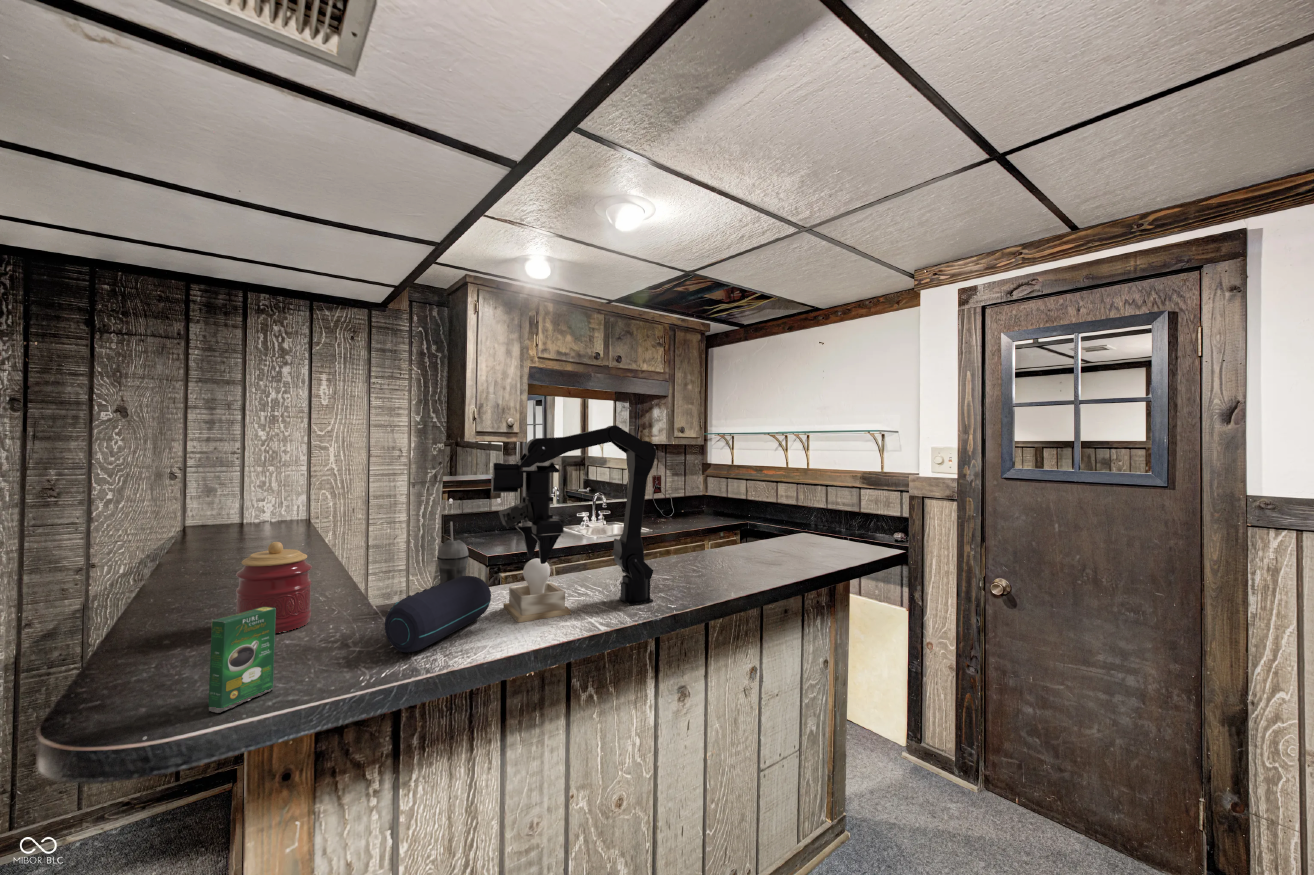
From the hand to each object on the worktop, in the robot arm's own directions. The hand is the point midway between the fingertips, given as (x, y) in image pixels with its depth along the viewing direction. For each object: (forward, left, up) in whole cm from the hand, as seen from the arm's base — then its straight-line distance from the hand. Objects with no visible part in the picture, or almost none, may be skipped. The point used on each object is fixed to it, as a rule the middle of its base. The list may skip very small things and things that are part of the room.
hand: (536, 559), depth 126 cm
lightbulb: (0, 0, -11) cm, 11 cm away
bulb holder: (0, 0, -12) cm, 12 cm away
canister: (+51, -16, -12) cm, 55 cm away
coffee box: (+52, +21, -12) cm, 57 cm away
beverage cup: (+16, -14, -12) cm, 24 cm away
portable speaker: (+22, +6, -12) cm, 26 cm away
